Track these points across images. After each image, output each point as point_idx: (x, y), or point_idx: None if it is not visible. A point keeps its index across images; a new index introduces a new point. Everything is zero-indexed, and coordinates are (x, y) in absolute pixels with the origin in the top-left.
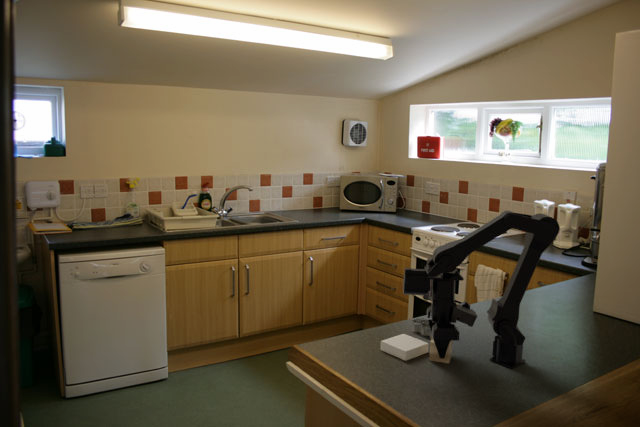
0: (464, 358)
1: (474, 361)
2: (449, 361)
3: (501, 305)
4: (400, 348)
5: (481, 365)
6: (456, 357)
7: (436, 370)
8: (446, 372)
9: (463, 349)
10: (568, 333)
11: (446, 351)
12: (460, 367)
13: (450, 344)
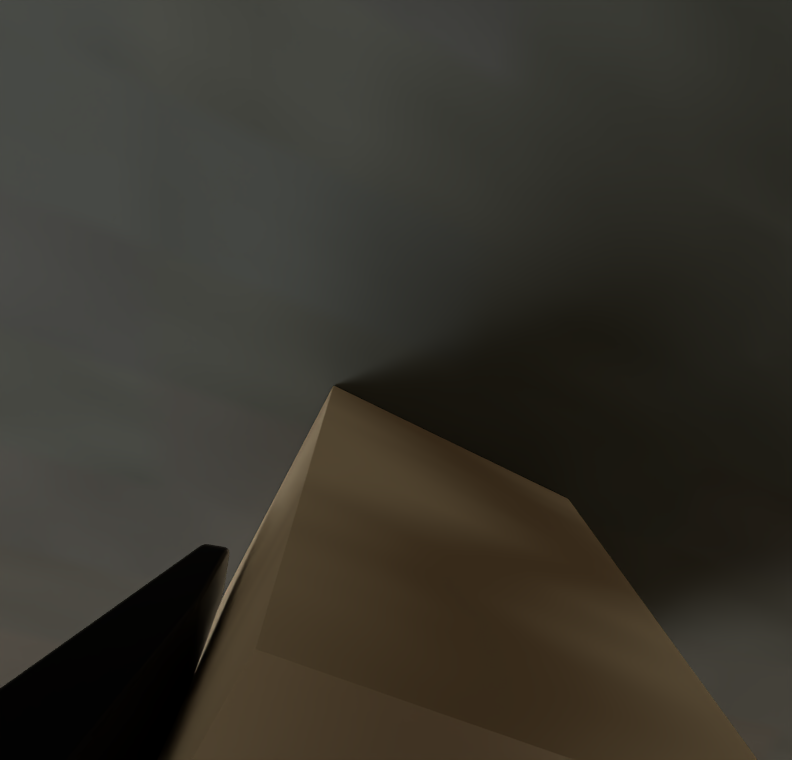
0: (444, 207)
1: (597, 70)
2: (540, 489)
3: None
4: None
5: (785, 10)
6: (388, 326)
7: (695, 668)
8: (778, 596)
9: (14, 31)
10: None
11: None
12: (722, 400)
13: (666, 743)
